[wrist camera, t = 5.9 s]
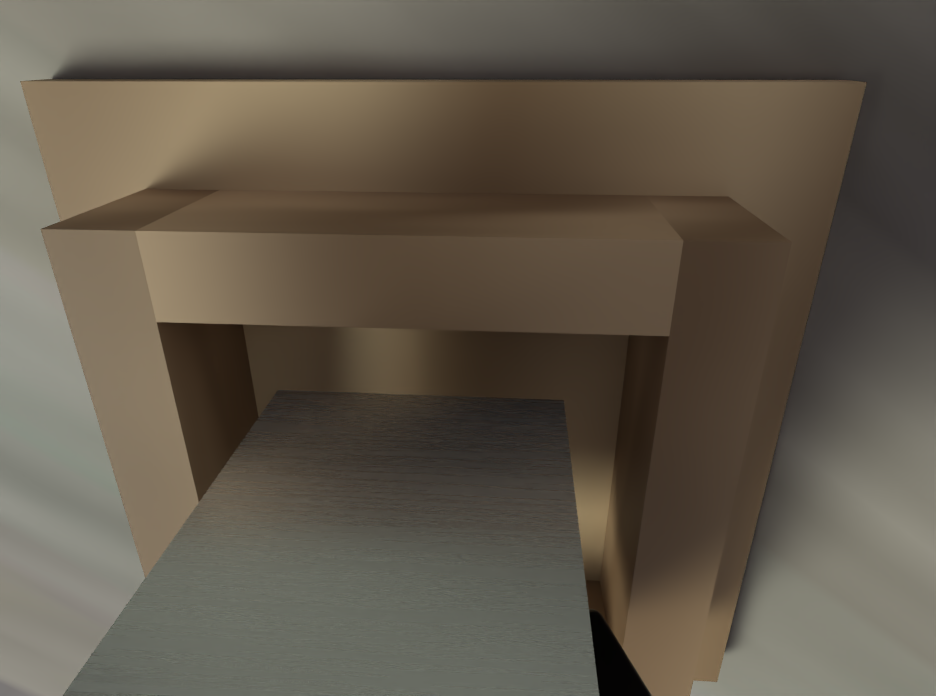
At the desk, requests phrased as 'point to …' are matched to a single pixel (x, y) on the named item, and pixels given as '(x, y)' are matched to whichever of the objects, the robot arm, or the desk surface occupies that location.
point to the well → (461, 289)
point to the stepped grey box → (369, 560)
